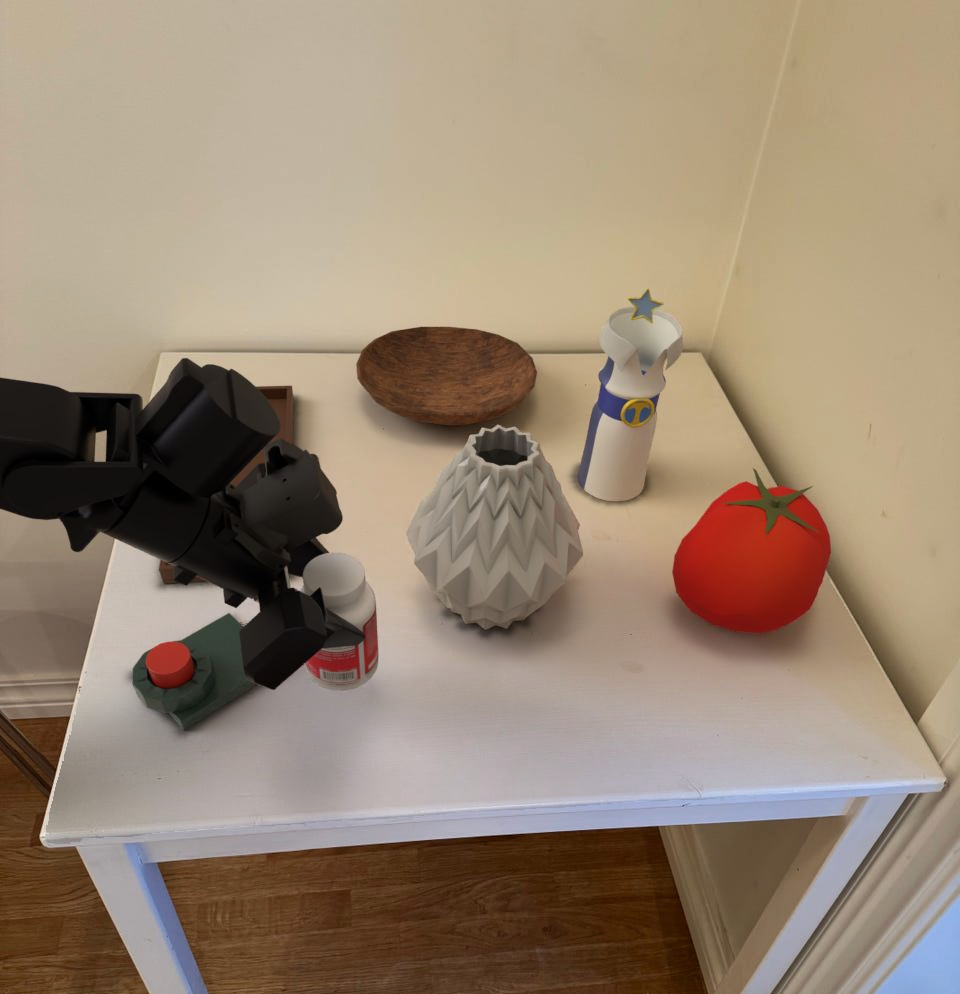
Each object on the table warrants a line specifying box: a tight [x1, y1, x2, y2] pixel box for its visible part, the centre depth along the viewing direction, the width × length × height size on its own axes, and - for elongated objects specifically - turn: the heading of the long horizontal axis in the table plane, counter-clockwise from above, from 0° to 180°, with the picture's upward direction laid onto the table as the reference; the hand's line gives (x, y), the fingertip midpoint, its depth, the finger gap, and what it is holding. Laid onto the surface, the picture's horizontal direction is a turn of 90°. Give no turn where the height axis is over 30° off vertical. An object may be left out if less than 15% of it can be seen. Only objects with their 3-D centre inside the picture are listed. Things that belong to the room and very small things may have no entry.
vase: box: [405, 424, 584, 631], centre depth 78 cm, size 16×16×18 cm
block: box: [132, 612, 258, 731], centre depth 76 cm, size 11×8×3 cm
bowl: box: [355, 326, 538, 426], centre depth 106 cm, size 20×22×5 cm
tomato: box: [671, 467, 832, 635], centre depth 81 cm, size 16×14×14 cm
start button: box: [146, 641, 195, 689], centre depth 73 cm, size 4×4×2 cm
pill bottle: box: [299, 551, 380, 692], centre depth 69 cm, size 6×6×11 cm
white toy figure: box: [577, 287, 684, 502], centre depth 89 cm, size 8×9×25 cm
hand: (354, 610), depth 68 cm, fingers closed on pill bottle, 6 cm apart
